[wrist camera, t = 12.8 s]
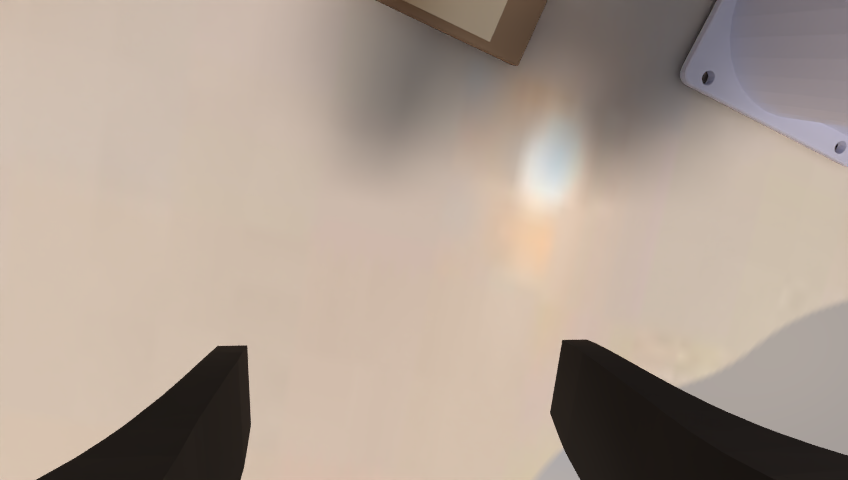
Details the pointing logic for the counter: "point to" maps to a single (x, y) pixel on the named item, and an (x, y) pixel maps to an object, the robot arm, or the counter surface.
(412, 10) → the board
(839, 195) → the counter surface
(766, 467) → the robot arm
